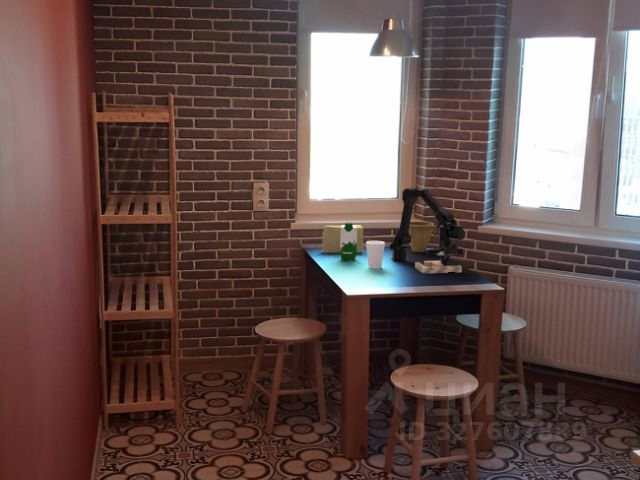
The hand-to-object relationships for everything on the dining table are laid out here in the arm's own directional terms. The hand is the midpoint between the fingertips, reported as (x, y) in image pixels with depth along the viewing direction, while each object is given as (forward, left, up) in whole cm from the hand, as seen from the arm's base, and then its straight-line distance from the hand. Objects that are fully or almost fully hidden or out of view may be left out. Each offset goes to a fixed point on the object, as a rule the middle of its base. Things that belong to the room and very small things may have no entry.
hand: (443, 267), depth 390 cm
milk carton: (-42, +32, -1) cm, 53 cm away
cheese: (-41, +52, -1) cm, 66 cm away
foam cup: (-33, +11, -1) cm, 35 cm away
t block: (-4, +1, -1) cm, 4 cm away
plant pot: (+3, +49, -1) cm, 49 cm away
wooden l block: (-3, +1, -1) cm, 3 cm away
